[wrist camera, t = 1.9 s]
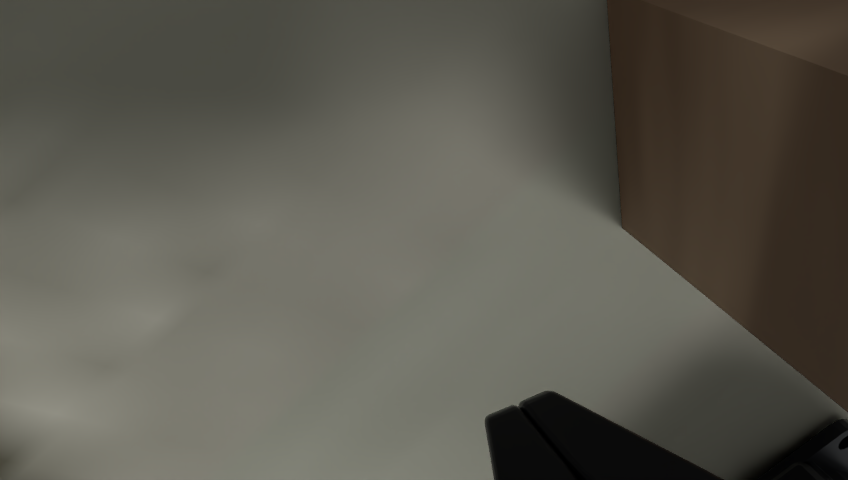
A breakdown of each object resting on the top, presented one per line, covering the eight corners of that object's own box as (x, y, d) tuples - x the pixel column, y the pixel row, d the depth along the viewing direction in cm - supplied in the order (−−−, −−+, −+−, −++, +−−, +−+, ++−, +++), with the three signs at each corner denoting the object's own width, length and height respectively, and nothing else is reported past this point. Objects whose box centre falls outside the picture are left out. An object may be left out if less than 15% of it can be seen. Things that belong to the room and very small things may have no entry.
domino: (704, -44, 14) (1312, 110, 7) (704, 196, 17) (1142, 482, 10) (606, -13, 14) (1144, 184, 7) (622, 227, 16) (1016, 550, 9)
